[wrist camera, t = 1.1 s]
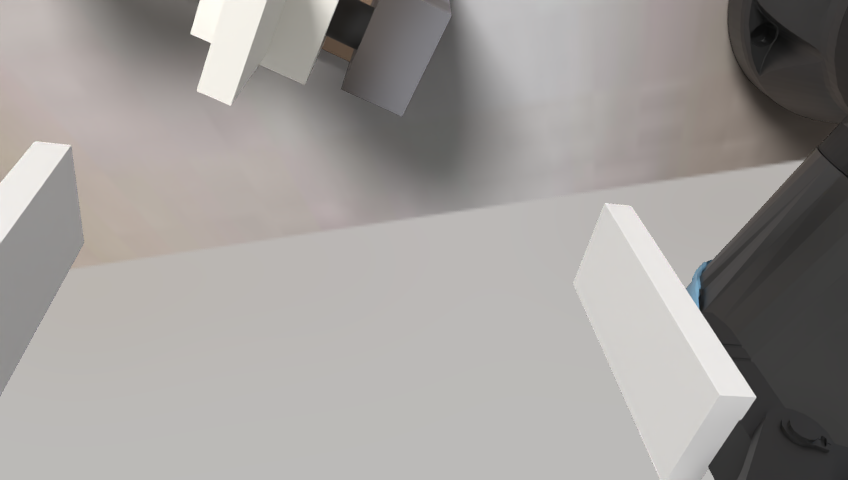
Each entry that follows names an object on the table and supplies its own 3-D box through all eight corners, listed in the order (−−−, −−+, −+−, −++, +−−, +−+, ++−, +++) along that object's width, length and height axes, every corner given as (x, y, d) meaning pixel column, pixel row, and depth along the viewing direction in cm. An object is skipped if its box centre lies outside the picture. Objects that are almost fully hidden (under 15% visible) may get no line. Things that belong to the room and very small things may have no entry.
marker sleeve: (362, -53, 30) (332, 4, 21) (321, 49, 33) (277, 142, 23) (257, -107, 29) (175, -71, 20) (223, 4, 32) (136, 82, 22)
